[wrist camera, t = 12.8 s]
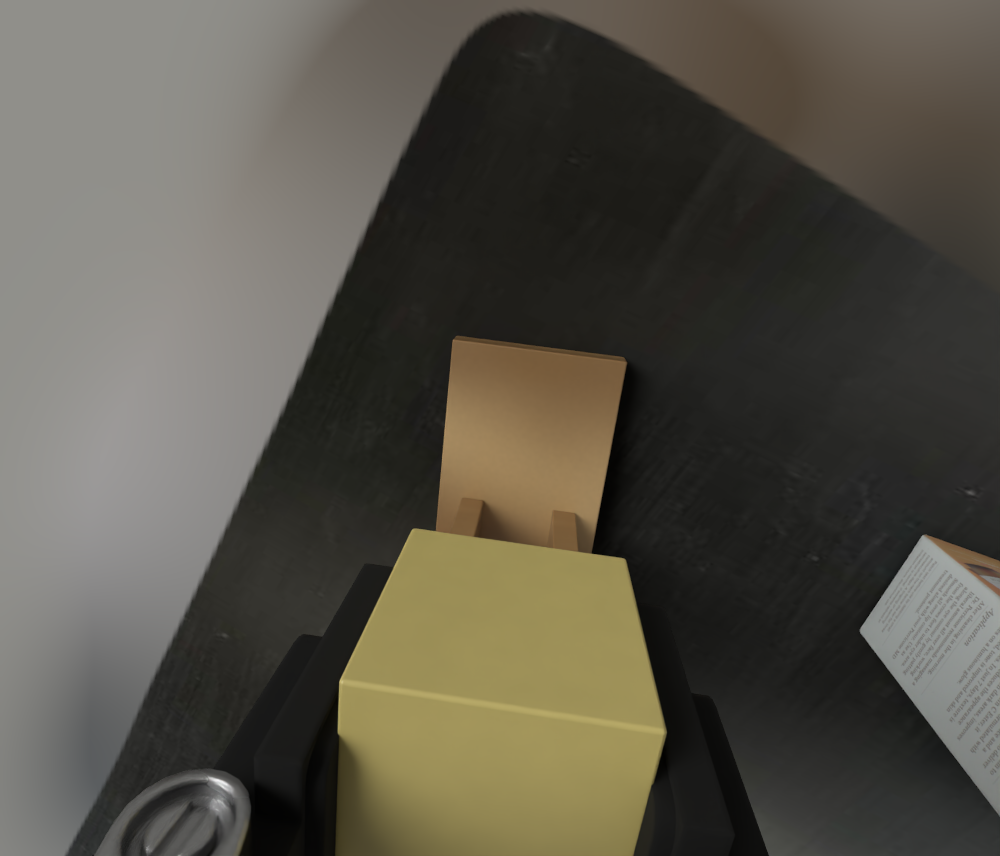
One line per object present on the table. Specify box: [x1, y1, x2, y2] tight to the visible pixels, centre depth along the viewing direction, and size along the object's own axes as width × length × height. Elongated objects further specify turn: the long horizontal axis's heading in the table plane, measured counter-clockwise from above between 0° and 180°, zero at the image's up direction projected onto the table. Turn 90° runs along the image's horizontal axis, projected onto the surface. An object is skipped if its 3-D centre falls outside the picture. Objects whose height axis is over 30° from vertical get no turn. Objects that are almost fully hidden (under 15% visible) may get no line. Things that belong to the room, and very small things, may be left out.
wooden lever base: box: [436, 336, 627, 554], centre depth 22 cm, size 18×7×10 cm, turn 173°
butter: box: [335, 529, 667, 856], centre depth 8 cm, size 4×4×4 cm
